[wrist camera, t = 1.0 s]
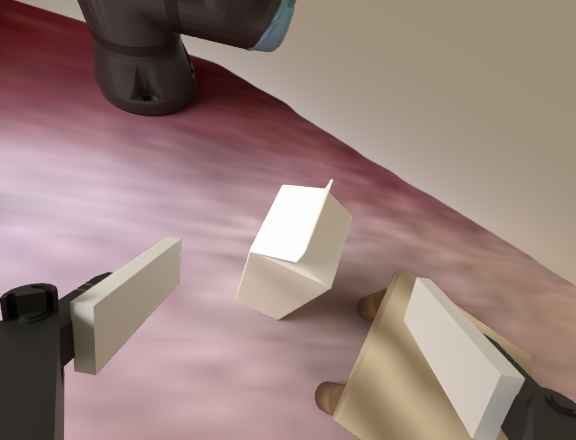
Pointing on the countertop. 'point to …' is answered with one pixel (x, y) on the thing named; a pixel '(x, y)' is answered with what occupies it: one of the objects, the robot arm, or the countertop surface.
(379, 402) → the small table
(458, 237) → the countertop surface
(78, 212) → the countertop surface
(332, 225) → the milk
